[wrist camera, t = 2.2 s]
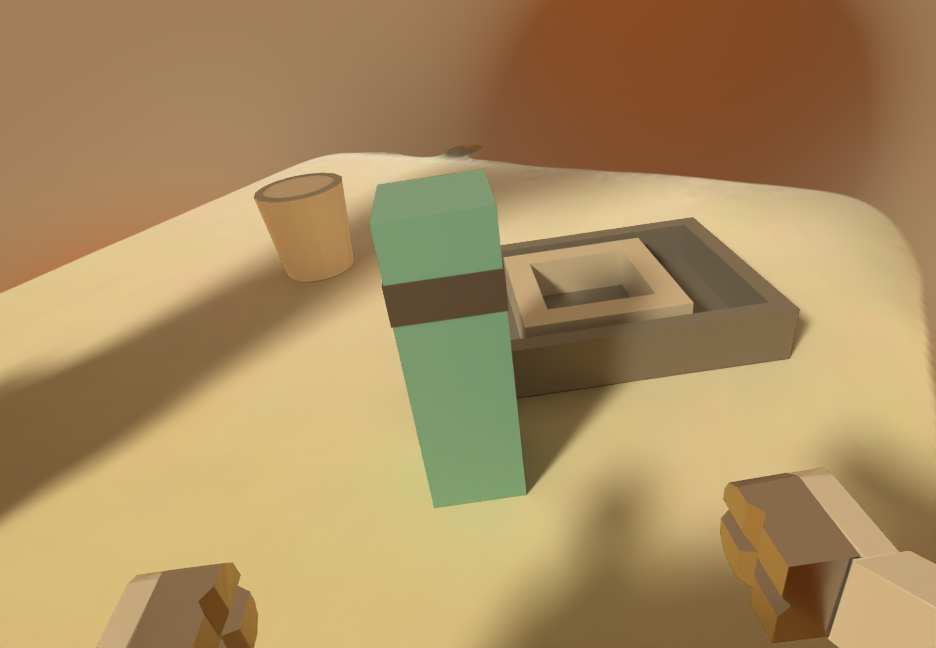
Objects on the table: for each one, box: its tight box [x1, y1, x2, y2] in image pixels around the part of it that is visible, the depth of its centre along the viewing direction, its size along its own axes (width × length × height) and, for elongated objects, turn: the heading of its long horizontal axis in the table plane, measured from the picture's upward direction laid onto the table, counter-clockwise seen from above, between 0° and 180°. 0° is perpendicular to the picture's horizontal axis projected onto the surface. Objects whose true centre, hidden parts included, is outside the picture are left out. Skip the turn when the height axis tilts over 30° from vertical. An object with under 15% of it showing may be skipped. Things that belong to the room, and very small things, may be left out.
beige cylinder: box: [254, 173, 354, 282], centre depth 46 cm, size 7×7×7 cm
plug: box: [369, 169, 527, 508], centre depth 23 cm, size 4×4×13 cm
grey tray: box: [500, 217, 800, 398], centre depth 35 cm, size 18×13×3 cm
